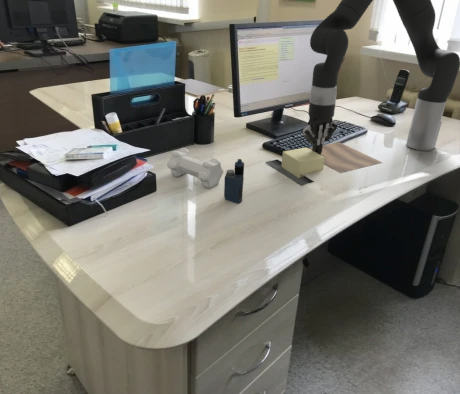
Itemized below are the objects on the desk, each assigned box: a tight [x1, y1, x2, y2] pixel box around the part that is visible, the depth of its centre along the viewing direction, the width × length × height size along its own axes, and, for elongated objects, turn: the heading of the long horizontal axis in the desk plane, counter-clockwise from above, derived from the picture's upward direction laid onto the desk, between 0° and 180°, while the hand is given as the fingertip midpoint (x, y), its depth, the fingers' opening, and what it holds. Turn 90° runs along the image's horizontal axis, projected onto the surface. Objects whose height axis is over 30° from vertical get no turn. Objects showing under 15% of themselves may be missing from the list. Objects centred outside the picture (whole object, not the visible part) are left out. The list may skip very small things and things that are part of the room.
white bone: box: [166, 147, 224, 190], centre depth 122 cm, size 15×9×8 cm, turn 53°
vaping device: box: [223, 158, 245, 204], centre depth 111 cm, size 3×5×12 cm, turn 58°
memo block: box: [281, 147, 325, 178], centre depth 131 cm, size 9×9×5 cm
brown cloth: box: [307, 141, 383, 174], centre depth 140 cm, size 18×20×2 cm
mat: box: [265, 159, 315, 186], centre depth 133 cm, size 14×18×1 cm
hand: (316, 154), depth 134 cm, fingers closed
